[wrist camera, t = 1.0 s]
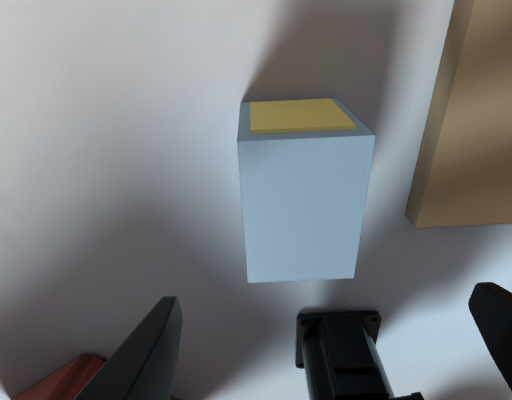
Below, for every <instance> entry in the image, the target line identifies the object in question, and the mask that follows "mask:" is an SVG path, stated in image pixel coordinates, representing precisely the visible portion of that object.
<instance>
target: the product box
mask: <svg viewBox="0 0 512 400" xmlns="http://www.w3.org/2000/svg"><path fill="white" fill-rule="evenodd" d="M375 137H376V135H375V134H374V133H373V132H372V131H371V130H370V129H369V128H368V127H367V126H366V125H365V124H364V123H363V122H362V121H360V120H359V119H358V118H357V117H356V116H355V115H354V114H353V113H352V112H351V111H350V110H349V109H348V108H347V107H346V106H345V105H344V104H343V103H342V102H341V101H340V100H339V99H337V98H317V99H297V100H276V101H256V102H241V104H240V115H239V126H238V137H237V147H238V160H239V173H240V186H241V199H242V212H243V225H244V239H245V252H246V265H247V278H248V283H258V282H280V281H302V280H324V279H346V278H354V273H355V266H356V260H357V253H358V247H359V241H360V234H361V228H362V221H363V215H364V208H365V202H366V195H367V189H368V183H369V176H370V170H371V163H372V157H373V150H374V144H375Z"/></svg>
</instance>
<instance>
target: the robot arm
mask: <svg viewBox="0 0 512 400" xmlns="http://www.w3.org/2000/svg"><path fill="white" fill-rule="evenodd" d="M468 305H469V309H470V312H471V314H472V316H473V318H474V320H475V322H476V325H477V327H478V329H479V331H480V333H481V335H482V337H483V340H484V342H485V344H486V346H487V348H488V350H489V352H490V354H491V356H492V358H493V360H494V362H495V364H496V365H497V367H498V369H499V371H500V372H501V374H502V376H503V377H504V379H505V381H506V382H507V384H508V386H509V387H510V389H511V391H512V293H511V292H509V291H508V290H506V289H504V288H502V287H500V286H499V285H497V284H495V283H492V282H482V283H477V284H476V285H475V287H474V290H473V292H472V294H471V297H470V299H469V303H468ZM380 323H381V316H380V313H379V312H378V311H359V312H337V313H315V314H301V315H298V316H297V319H296V349H295V364H296V367H297V368H301V369H302V368H305V373H306V380H307V386H308V392H309V399H310V400H424V398H423V396H422V395H421V393H420V392H415V393H411V395H408V396H402V397H396V398H395V397H394V394H393V391H392V389H391V386H390V384H389V381H388V378H387V376H386V373H385V370H384V368H383V365H382V363H381V360H380V357H379V355H378V352H377V349H376V347H375V344H376V340H377V336H378V331H379V327H380ZM181 325H182V313H181V309H180V305H179V301H178V298H177V297H176V296H166V297H163V298H162V299H161V300H160V301H159V302H158V303H157V304H156V305H155V307H154V308H153V309H152V310H151V311H150V312H149V313H148V315H147V316H146V317H145V318H144V319H143V320H142V321H141V323H140V324H139V325H138V326H137V327H136V328H135V329H134V331H133V332H132V333H131V334H130V335H129V336H128V337H127V339H126V340H125V341H124V342H123V343H122V344H121V345H120V347H119V348H118V349H117V350H116V351H115V352H114V353H113V355H112V356H111V357H110V358H109V359H108V360H107V361H106V363H105V364H104V365H103V366H102V367H101V368H100V369H99V371H98V372H97V373H96V374H95V375H94V376H93V377H92V379H91V380H90V381H89V382H88V383H87V384H86V385H85V387H84V388H83V389H82V390H81V391H80V392H79V393H78V395H77V396H76V397H75V398H74V400H170V396H171V392H172V388H173V383H174V379H175V374H176V367H177V359H178V351H179V342H180V334H181Z"/></svg>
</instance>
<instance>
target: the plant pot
mask: <svg viewBox="0 0 512 400" xmlns="http://www.w3.org/2000/svg"><path fill="white" fill-rule="evenodd" d="M105 363H106V362H104V361H103V360H101V359H99V358H97V357H95V356H92V355H82V356H79V357H77V358H76V359H74V360H72V361H71V362H69V363H68V364H66V365H65V366H63V367H61V368H60V369H58V370H57V371H55V372H54V373H52V374H51V375H49V376H47V377H46V378H44V379H43V380H41V381H40V382H38V383H37V384H35V385H33V386H32V387H30V388H29V389H27V390H26V391H24V392H22V393H21V394H19V395H18V396H16V397H15V398H13V399H12V400H74V398H75V397H76V396H77V395H78V393H79V392H80V391H81V390H82V389H83V388H84V387H85V385H86V384H87V383H88V382H89V381H90V380H91V379H92V377H93V376H94V375H95V374H96V373H97V372H98V371H99V369H100V368H101V367H102V366H103V365H104V364H105ZM170 400H173V399H171V398H170Z"/></svg>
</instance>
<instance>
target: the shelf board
mask: <svg viewBox="0 0 512 400" xmlns="http://www.w3.org/2000/svg"><path fill="white" fill-rule="evenodd" d="M405 215H406V216H407V218H408V219H409V220H410V222H411V223H412V224H413V225H414V227H415V228H424V227H445V226H467V225H488V224H510V223H512V0H455V1H454V6H453V10H452V14H451V18H450V23H449V27H448V31H447V36H446V40H445V44H444V48H443V53H442V57H441V61H440V66H439V70H438V74H437V78H436V83H435V87H434V91H433V96H432V100H431V104H430V108H429V113H428V117H427V121H426V126H425V130H424V134H423V138H422V143H421V147H420V151H419V156H418V160H417V164H416V168H415V173H414V177H413V181H412V186H411V190H410V194H409V198H408V203H407V207H406V211H405Z"/></svg>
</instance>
